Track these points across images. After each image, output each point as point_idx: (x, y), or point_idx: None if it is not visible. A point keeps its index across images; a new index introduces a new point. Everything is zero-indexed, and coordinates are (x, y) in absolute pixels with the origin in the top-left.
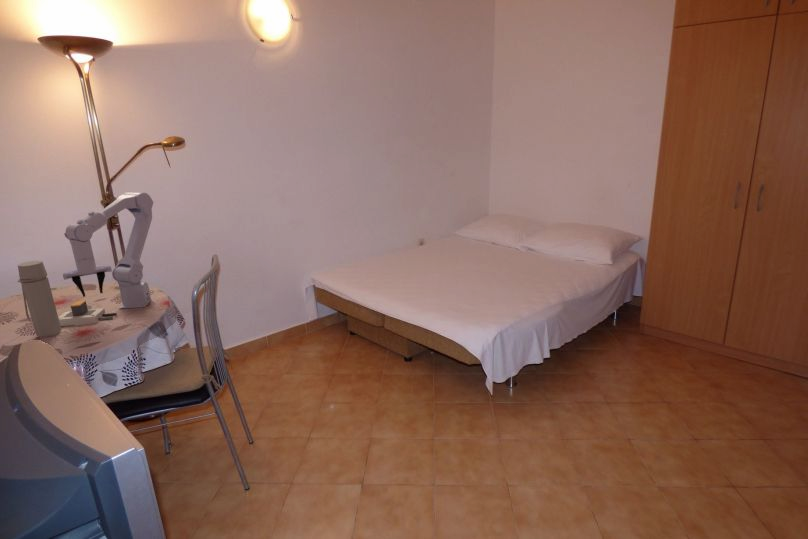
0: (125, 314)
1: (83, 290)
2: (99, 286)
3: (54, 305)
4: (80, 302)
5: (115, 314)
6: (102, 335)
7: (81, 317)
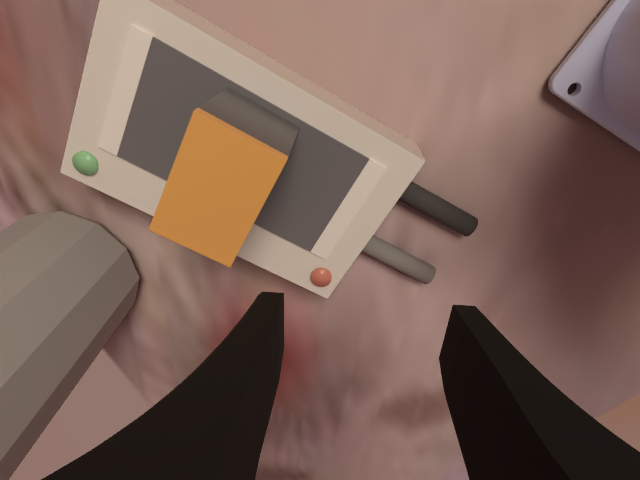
0: (520, 241)
1: (264, 427)
2: (464, 452)
3: (27, 430)
4: (236, 196)
5: (464, 234)
6: (329, 433)
7: (247, 256)
